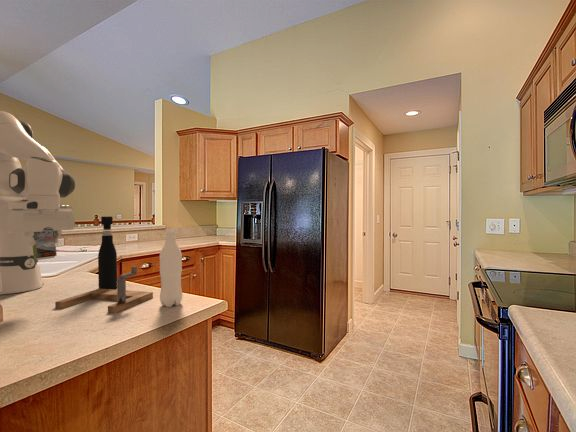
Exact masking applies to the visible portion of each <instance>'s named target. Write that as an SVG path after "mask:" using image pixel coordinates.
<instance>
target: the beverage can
mask: <svg viewBox="0 0 576 432" xmlns="http://www.w3.org/2000/svg"><path fill="white" fill-rule="evenodd" d="M33 238H34V240H37V245H36V246H32V247H33V255H34V259H37V260H38V261H41V260H46V259H47V260H48V259H54V258H55V257H57V245H56V244H55V237H54V230H53V229H52V228H51V227H46V228H44V229H43V230H42V231H41V232H34V236H33Z"/></svg>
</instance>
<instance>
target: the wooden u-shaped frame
mask: <svg viewBox="0 0 576 432" xmlns="http://www.w3.org/2000/svg"><path fill="white" fill-rule="evenodd" d="M153 298H154V292H153V291H141V290H127V289H126V303H123V304H118V302H117V290H113V289H99V288H97V289H94V290H90V291H87V292H83V293H80V294H76V295H74V296H70V297H67V298H64V299H60V300H56V301H55V303H54V304H55V308H54V309H65V308H68V307H71V306H73V305H74V306H75V305H77V304H81V303H83V302H86V301H89V300H104V301H105V300H107V301H116V302H114V303H113V304H109V305H108V306H107V313H110V314H117V313H119V312H121V311H124V310H126V309H129V308H132V307H134V306H136V305H139V304H141V303H144V302H146V301H148V300H150V299H153Z"/></svg>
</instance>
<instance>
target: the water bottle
mask: <svg viewBox="0 0 576 432" xmlns="http://www.w3.org/2000/svg"><path fill="white" fill-rule="evenodd" d="M164 239H165V241H164V245H163V247H162V248H161V250H160V251H159V252H160V253H159V275H160V293H159V302H160V304H161V305H162V307H166V308H172V307H173V305H175V306H179V305H180V304H181V302H182V300H183V291H182V281H181V280H182V272H183V263H182V262H183V261H182V258H183V254H182V251H181V249H180V247H179V246H178V243H177V241H176V239H177V236H176V231H175V230H174V231H173V230H172V231H165V238H164Z"/></svg>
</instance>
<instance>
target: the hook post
mask: <svg viewBox="0 0 576 432" xmlns="http://www.w3.org/2000/svg"><path fill="white" fill-rule="evenodd" d="M130 267H131V268H130V269H131V270H130V272H126V273H123V274H120V275H119V277H117V301H116V303H117V302H118V304H123V303H126V290H127V289H126V288H127V285H126V281H127V280H126V279H128V278H131V277H134V276H137V274H138V267H137V266H135V265H134V266H130Z"/></svg>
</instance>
